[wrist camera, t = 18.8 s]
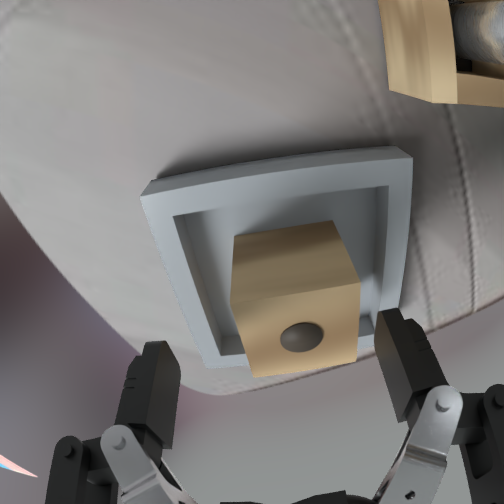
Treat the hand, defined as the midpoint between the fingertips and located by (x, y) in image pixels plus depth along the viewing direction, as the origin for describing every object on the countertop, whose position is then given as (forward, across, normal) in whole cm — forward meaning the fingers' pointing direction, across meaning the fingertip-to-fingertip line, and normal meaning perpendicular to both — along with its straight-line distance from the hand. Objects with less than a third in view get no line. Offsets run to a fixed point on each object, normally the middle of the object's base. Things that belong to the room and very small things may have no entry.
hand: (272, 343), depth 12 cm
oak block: (+7, -10, -10) cm, 16 cm away
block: (+6, -1, +1) cm, 6 cm away
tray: (+6, -1, +1) cm, 7 cm away
